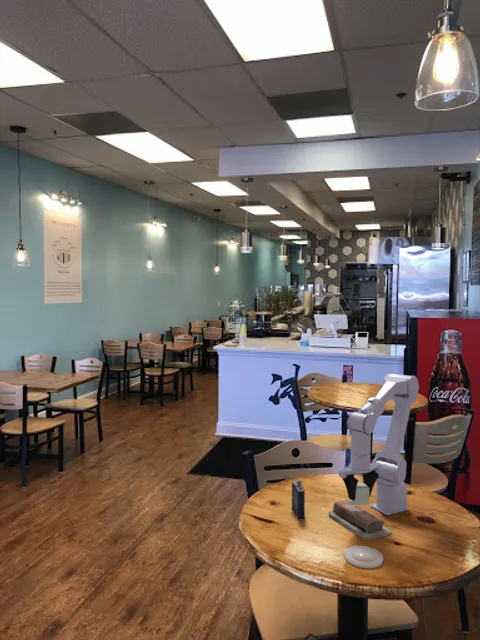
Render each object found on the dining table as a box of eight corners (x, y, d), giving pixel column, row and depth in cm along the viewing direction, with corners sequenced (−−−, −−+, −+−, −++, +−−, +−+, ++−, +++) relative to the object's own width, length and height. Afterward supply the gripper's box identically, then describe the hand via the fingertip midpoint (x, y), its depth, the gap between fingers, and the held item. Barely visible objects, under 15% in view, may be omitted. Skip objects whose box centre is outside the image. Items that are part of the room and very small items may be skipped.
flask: (290, 507, 159) (291, 475, 159) (299, 507, 160) (299, 474, 159) (297, 520, 150) (298, 486, 150) (307, 519, 150) (307, 485, 150)
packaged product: (327, 501, 153) (353, 496, 158) (327, 516, 154) (352, 511, 158) (365, 525, 137) (392, 519, 141) (365, 542, 137) (392, 535, 142)
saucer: (364, 545, 135) (365, 541, 135) (391, 562, 126) (391, 558, 126) (336, 553, 130) (336, 549, 130) (361, 572, 121) (361, 567, 121)
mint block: (363, 499, 149) (364, 482, 149) (369, 504, 145) (369, 487, 145) (350, 499, 149) (350, 483, 149) (354, 505, 145) (355, 488, 145)
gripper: (369, 445, 153) (368, 488, 154) (332, 452, 147) (332, 496, 147) (385, 452, 147) (384, 496, 148) (348, 459, 140) (347, 505, 141)
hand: (359, 497), depth 147 cm, fingers closed on mint block, 5 cm apart
